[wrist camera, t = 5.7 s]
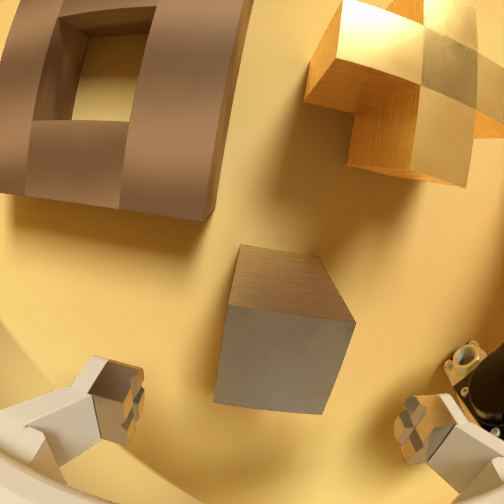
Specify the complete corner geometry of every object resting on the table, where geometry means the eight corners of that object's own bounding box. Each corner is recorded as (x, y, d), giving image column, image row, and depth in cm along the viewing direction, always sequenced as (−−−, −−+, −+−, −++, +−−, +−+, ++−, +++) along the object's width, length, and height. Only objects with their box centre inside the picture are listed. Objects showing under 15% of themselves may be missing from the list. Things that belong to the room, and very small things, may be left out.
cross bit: (428, 187, 17) (515, 208, 9) (293, 153, 17) (322, 146, 9) (443, 62, 15) (522, 29, 7) (316, 19, 15) (348, -57, 7)
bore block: (214, 209, 18) (202, 222, 14) (20, 183, 17) (-18, 190, 14) (256, -14, 14) (256, -50, 10) (60, -4, 14) (30, -23, 10)
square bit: (301, 325, 20) (321, 414, 12) (229, 314, 20) (213, 402, 12) (318, 257, 18) (356, 322, 11) (240, 244, 18) (227, 304, 11)
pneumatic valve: (456, 413, 22) (511, 505, 11) (416, 336, 20) (505, 458, 8) (501, 376, 21) (567, 456, 10) (474, 288, 19) (585, 378, 7)
